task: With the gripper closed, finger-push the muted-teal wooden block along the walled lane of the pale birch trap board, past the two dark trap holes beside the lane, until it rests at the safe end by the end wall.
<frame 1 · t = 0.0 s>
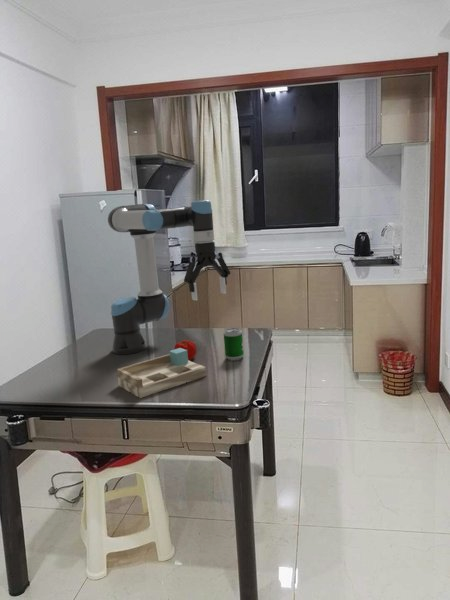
hand: (209, 296, 196), 28 cm above the table, fingers open, 13 cm apart
trap board: (162, 380, 190), on the table
tomato: (186, 359, 213), on the table
soda can: (234, 358, 209), on the table
teal block: (179, 362, 198), point 3 cm above the table, touching trap board
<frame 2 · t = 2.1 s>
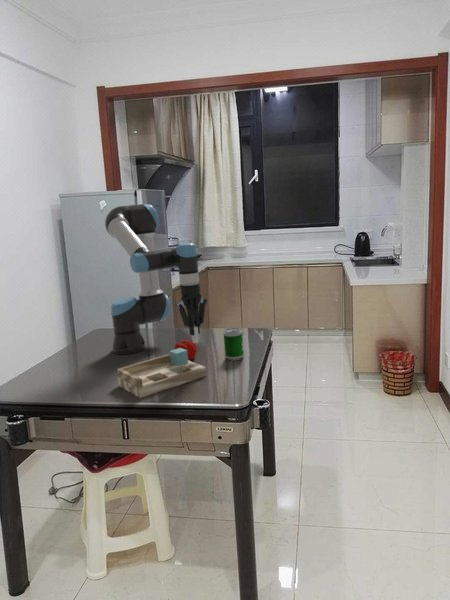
hand: (195, 342, 200), 10 cm above the table, fingers closed
nothing on the table moved.
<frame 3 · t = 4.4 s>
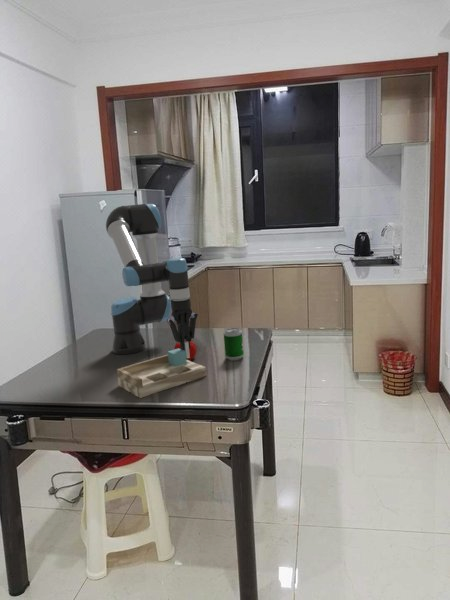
hand: (186, 357, 199), 5 cm above the table, fingers closed
teal block: (177, 363, 197), point 4 cm above the table, touching gripper
everything else where it was.
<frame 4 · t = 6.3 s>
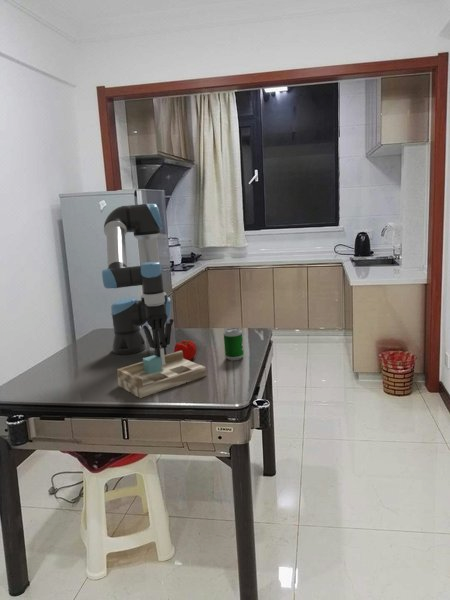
hand: (162, 364, 193), 5 cm above the table, fingers closed
teal block: (153, 370, 191), point 4 cm above the table, touching gripper
everything else where it was.
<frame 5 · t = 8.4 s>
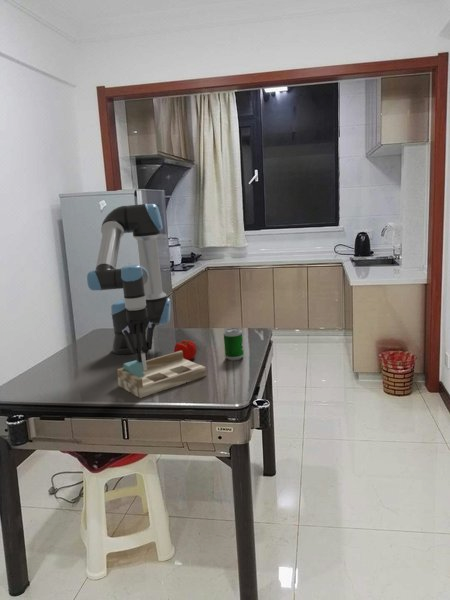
hand: (143, 369, 189), 5 cm above the table, fingers closed
teal block: (134, 376, 187), point 3 cm above the table, touching gripper, trap board
everything else where it was.
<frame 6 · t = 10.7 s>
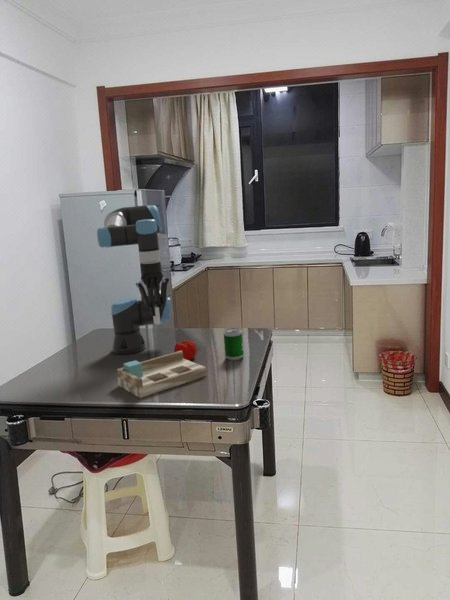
hand: (157, 323, 192), 21 cm above the table, fingers closed
teal block: (134, 376, 187), point 3 cm above the table, touching trap board
everything else where it was.
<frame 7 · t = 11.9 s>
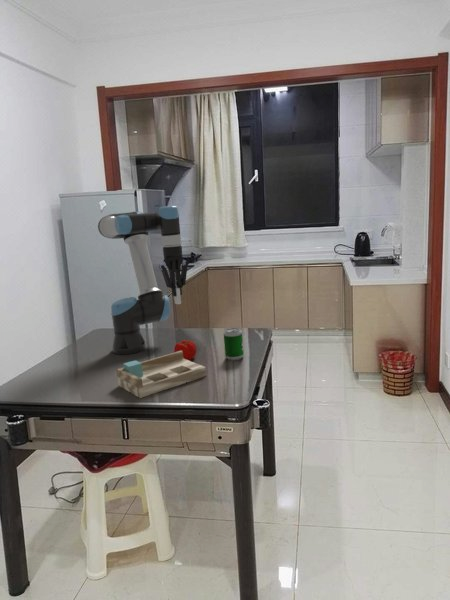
hand: (178, 303, 206), 24 cm above the table, fingers closed
nothing on the table moved.
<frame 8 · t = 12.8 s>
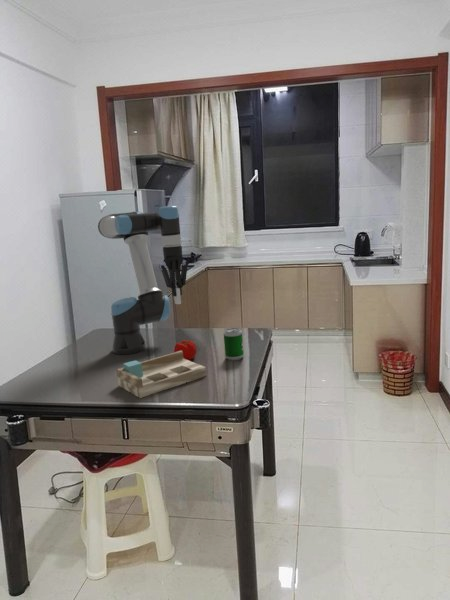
hand: (178, 303, 206), 24 cm above the table, fingers closed
nothing on the table moved.
at the end: teal block inside the target area (0.8 cm from its centre), point 3.5 cm above the table; teal block tilted 0° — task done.
